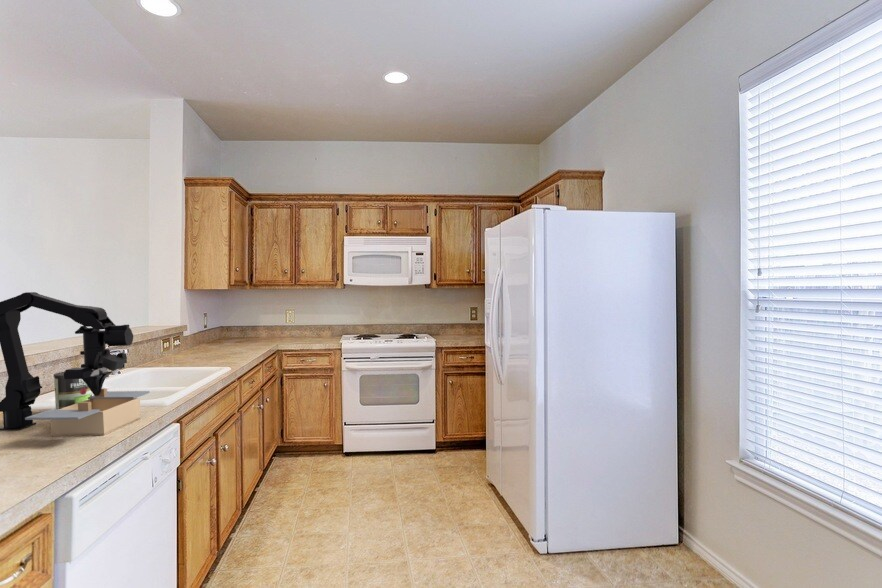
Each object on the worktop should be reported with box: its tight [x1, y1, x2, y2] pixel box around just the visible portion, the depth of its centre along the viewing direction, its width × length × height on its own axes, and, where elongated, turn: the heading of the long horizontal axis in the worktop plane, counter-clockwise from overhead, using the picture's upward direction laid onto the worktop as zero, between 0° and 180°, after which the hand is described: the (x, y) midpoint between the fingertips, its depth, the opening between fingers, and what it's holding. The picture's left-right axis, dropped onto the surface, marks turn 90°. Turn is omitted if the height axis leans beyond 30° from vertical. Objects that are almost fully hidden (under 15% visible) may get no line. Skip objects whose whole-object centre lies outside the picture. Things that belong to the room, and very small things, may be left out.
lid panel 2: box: [88, 388, 150, 399], centre depth 158 cm, size 15×8×3 cm, turn 87°
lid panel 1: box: [25, 402, 100, 421], centre depth 136 cm, size 15×8×3 cm, turn 87°
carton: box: [50, 397, 142, 437], centre depth 149 cm, size 16×16×7 cm
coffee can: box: [53, 371, 93, 410], centre depth 166 cm, size 10×10×14 cm
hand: (96, 395), depth 154 cm, fingers closed
